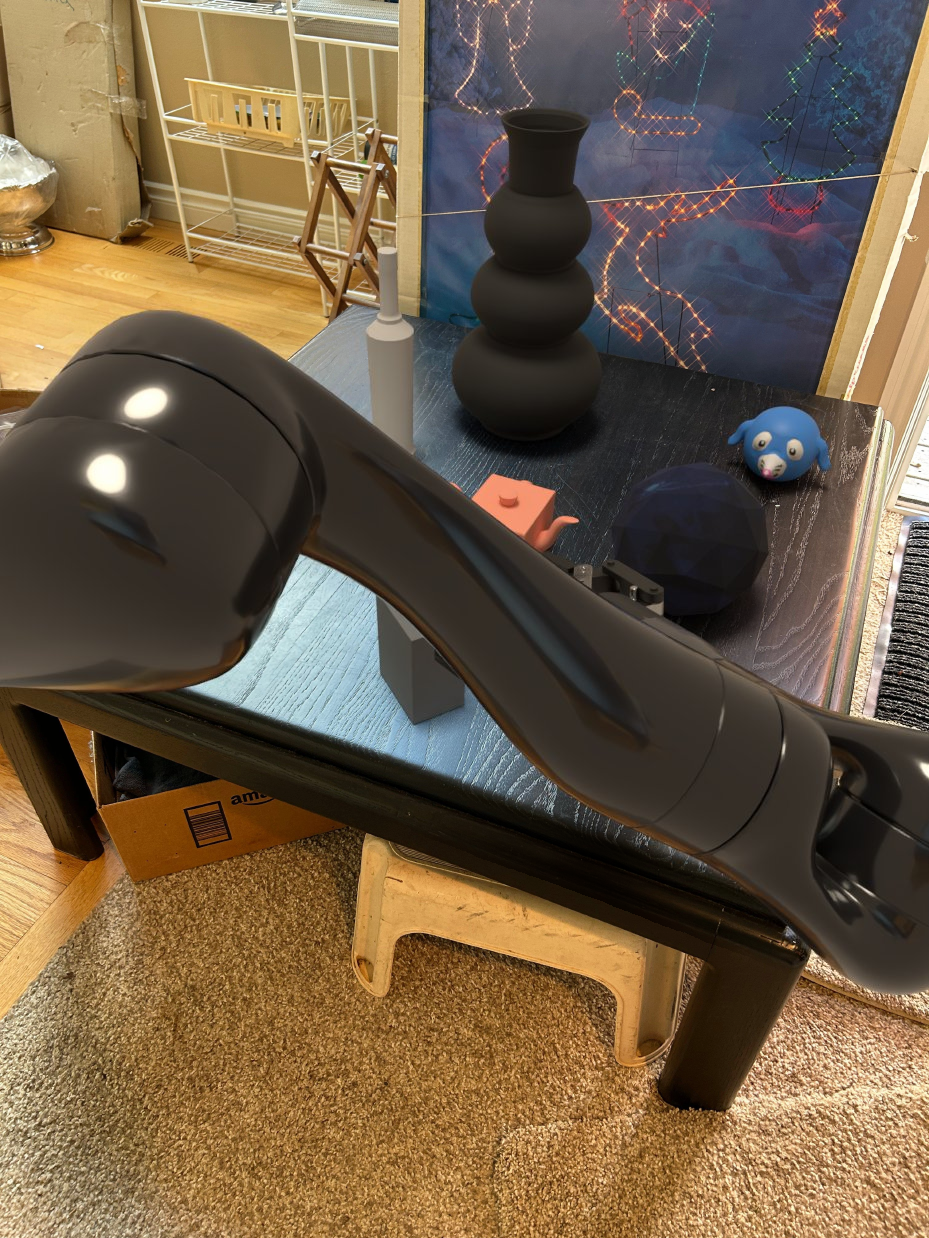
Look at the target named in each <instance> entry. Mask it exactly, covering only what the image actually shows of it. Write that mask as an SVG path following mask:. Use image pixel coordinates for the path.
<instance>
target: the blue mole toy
mask: <svg viewBox="0 0 929 1238" xmlns="http://www.w3.org/2000/svg"><path fill="white" fill-rule="evenodd" d="M742 441H744V442H743V447H742V449H743V457H744V460H745V462H746V464H747V466H748V468H749V469H750V470H751V471H752V472H753V473H755V474H756V475H757V476H758V477H761V478H763V479H764V480H768V481H770V482H771V481H772V482H789V481H792V480H795V479H798V478H800V477H801V476H803V475H804V474H806V472H808V471H809V470H810V469H811V468H812V467H813V465H814V464H815V462H817V466H818V468H819V469H820V470H821V471H822V472H828V471H829V470H830V469H831V466H832V464H831V461H830V458H829V447H828V444H827V442H826V440H824V439H823V438H822V437H821V432H820V429H819V427H818V424H817V422H816V421H815V419H814V418H813V417H812V416H811V415H810V414H808V413H807V412H806V411H804V410H802V409H799V408H798V407H797V408H796V407H792V406H775V407H771V408H768V409H766V410H764V411H762V412H761V413H760V414H758V415H757V416H756V417H755V418H753V419H750V420H749V419H748V420H745V421H744V422H742V423H741V424H740V425H738V428H737V429H736V431H735V432H734V433H733V434H732V435H730V436H729V437H728V441H727V445H729V446H730V447H735V446H737V445H739V444H740V443H741V442H742Z"/></svg>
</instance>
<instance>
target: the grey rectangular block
mask: <svg viewBox="0 0 929 1238" xmlns="http://www.w3.org/2000/svg"><path fill="white" fill-rule="evenodd" d="M375 604H376V607H375V608H376V621H377V622H376V623H377V625H376V626H377V641H378V643H377V645H378V660H379V661H378V662H379V673H380V675H381V677H382V678H383V680H384V681H385V683H386V685H387V686H388V688H389V689H390V690H391V693H392V694H393V696H394V697H395V698H396V700H397V701H398V703H399V705H400V706H401V708H402V709H403V711H404V712H405V714H406V716H407V717H408V719H409V720H410V722H411V723H412V725H416V724H419V723H421V722H424V721H427V720H430V719H432V718H434V717H437V716H439V715H442V714H445V713H447V712H450V711H453V710H456V709H458V708H460V707H463V706H465V690H466V685H465V684H464V683H463V681H462V680H460V679H459V678H458V677H456V676H455V675H454V674H452V673H451V672H450V671H448V670H447V669H446V668H444V667H443V666H442V665H440V664H439V663H438V662H436V661H435V660H434V654H433V651H434V648H433V647H432V645H431V644H430V643H429V642H428V641H427V640H426V639H425V638H424V637H423V636H422V635H421V634H419V633H418V632H417V631H416V630H415V629H414V628H413V627H412V626H411V625H410V624H409V623H408V622H407V621H406V620H405V619H404V618H403V617H402V616H401V615H400V614H399V613H398V612H397V611H395V610H394V609H393V608H392V607H390V606H389V605H388V604H387V603H386V602H384V601H383V600H381V599H380V598H379V597H377V596H376V595H375Z"/></svg>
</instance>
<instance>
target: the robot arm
mask: <svg viewBox="0 0 929 1238" xmlns="http://www.w3.org/2000/svg"><path fill="white" fill-rule="evenodd" d="M450 482H451V481H448V480H447V479H446V478H444V477H443V476H442V475H441V474H439V473H438V472H437V471H435V470H434V469H432V468H431V467H429V466H428V465H427V464H426V463H424V462H423V461H422V460H420V459H418V458H417V457H416V456H415V457H414V456H413V455H412V454H410V453H409V452H408V451H406V450H405V449H404V448H402V447H401V446H400V445H399V444H397V443H396V442H395V441H393V440H392V439H391V438H390V437H388V436H387V435H386V434H384V433H383V432H382V431H381V430H379V429H378V428H377V427H376V426H374V425H373V422H371V421H369V420H368V419H366V417H364V416H363V415H361V414H360V413H359V412H357V410H355V409H354V408H353V407H352V406H350V405H349V404H347V403H346V402H345V401H344V400H342V399H341V398H340V397H338V396H337V395H336V394H334V393H333V392H332V391H330V390H329V389H328V388H326V387H325V386H324V385H322V384H321V383H320V382H318V381H317V380H316V379H315V378H313V377H312V376H310V375H309V374H307V373H305V372H304V371H303V370H302V369H301V368H298V367H297V366H296V365H295V364H293V363H291V362H290V361H289V360H287V359H285V358H284V357H282V356H280V355H279V354H278V353H276V352H274V351H273V350H271V349H270V348H269V347H267V346H265V345H264V344H262V343H261V342H258V341H257V340H255V339H253V338H252V337H250V336H248V335H246V334H244V333H243V332H241V331H239V330H236V329H234V328H232V327H229V326H227V325H226V324H223V323H221V322H219V321H216V320H215V319H211V318H209V317H204V316H200V315H197V314H193V313H188V312H184V311H180V310H172V309H171V310H170V309H169V310H167V309H166V310H165V309H164V310H163V309H158V310H157V309H147V310H143V311H139V312H135V313H131V314H128V315H127V314H126V315H123V316H120V317H119V318H116V319H115V320H113V321H112V322H111V323H108V324H107V325H106V326H104V327H103V328H101V329H99V330H98V331H97V332H95V333H94V334H93V336H91V337H90V338H89V339H88V340H86V342H85V343H84V344H83V345H82V346H81V347H80V348H79V349H78V350H77V351H76V352H75V353H74V354H73V356H72V357H71V359H69V361H67V363H66V364H65V365H64V367H63V368H62V369H61V371H60V372H58V374H57V375H55V377H53V379H52V380H51V381H50V382H49V383H48V384H47V386H46V387H45V388H44V389H43V391H41V393H40V394H39V395H38V396H37V398H36V399H35V400H34V402H33V403H32V404H30V406H29V407H28V409H27V410H26V411H25V412H24V413H23V414H22V415H21V417H20V418H19V419H18V420H17V421H16V422H15V423H14V425H12V427H10V429H9V431H8V432H7V433H6V434H5V436H4V437H3V439H2V440H1V441H0V687H1V688H15V689H29V690H30V689H33V690H49V691H63V692H79V693H81V692H83V693H105V694H106V693H107V694H108V693H109V694H142V693H143V694H144V693H161V692H168V691H177V690H182V689H185V688H191V687H196V686H198V685H202V684H204V683H206V682H210V681H212V680H215V679H218V678H220V677H221V676H224V675H225V674H227V673H228V672H230V671H231V670H233V669H234V668H235V667H236V666H237V665H239V664H240V663H241V662H242V661H243V659H244V658H245V657H246V656H247V655H248V654H249V652H250V651H251V650H252V649H253V647H254V646H255V644H256V643H257V642H258V641H259V638H260V637H261V636H262V634H263V633H264V631H265V629H266V628H267V626H268V625H269V623H270V620H271V618H272V616H273V614H274V612H275V610H276V608H277V605H278V602H279V599H280V598H281V597H282V595H283V593H284V590H285V588H286V586H287V583H288V581H289V579H290V577H291V575H292V572H293V570H294V568H295V567H296V564H297V562H298V559H299V558H300V556H302V557H305V558H307V559H309V560H311V561H314V562H316V563H318V564H320V565H322V566H325V567H327V568H328V569H331V570H333V571H334V572H337V573H339V574H341V575H343V576H345V577H347V578H348V579H350V580H351V581H353V582H354V583H356V584H358V585H360V586H361V587H363V588H365V589H366V590H367V591H369V592H370V593H372V594H373V595H374V596H375V597H376V596H377V597H379V598H380V599H381V600H383V601H384V602H386V603H387V604H388V605H389V606H390V607H392V608H393V609H394V610H395V611H397V612H398V613H399V614H400V615H401V616H402V617H403V618H404V619H405V620H406V621H407V622H408V623H409V624H410V625H411V626H412V627H413V628H414V629H415V630H416V631H417V632H418V633H419V634H421V635H422V636H423V637H424V638H425V639H426V640H427V641H428V642H429V643H430V644H431V645H432V647H433V648H434V651H433V654H434V660H435V661H436V662H438V663H439V664H440V665H442V666H443V667H444V668H446V669H447V670H448V671H450V672H451V673H452V674H454V675H455V676H456V677H458V678H459V679H460V680H462V681H463V683H464V684H465V687H466V688H467V689H468V690H469V692H470V693H471V694H472V695H473V697H474V698H475V699H476V700H477V702H478V704H480V706H481V708H482V709H483V710H484V711H485V712H486V714H487V715H488V716H489V717H490V718H491V720H492V721H493V722H494V724H495V725H496V726H497V727H498V728H499V729H500V731H501V732H502V733H503V735H504V736H505V737H506V738H507V739H508V740H509V741H510V743H511V744H512V745H513V746H514V747H515V748H516V750H517V751H519V753H520V754H521V755H522V756H523V757H524V758H525V759H526V760H527V761H528V762H529V763H530V764H531V765H532V766H533V767H534V768H535V769H536V770H538V771H539V772H540V773H541V774H542V775H544V777H546V778H547V779H548V780H549V781H551V782H552V783H553V784H554V785H555V786H557V788H559V789H560V790H561V791H562V792H564V793H566V794H567V795H568V796H570V797H571V798H573V799H575V801H577V802H578V803H580V804H581V805H583V806H585V807H587V808H589V809H591V810H593V811H594V812H596V813H597V814H599V815H601V816H603V817H605V818H608V819H610V820H612V821H614V822H617V823H619V824H621V825H623V826H624V827H627V828H629V829H632V830H633V831H636V832H638V833H639V834H641V835H644V836H646V837H648V838H650V839H653V840H655V841H656V842H658V843H660V844H663V845H666V846H667V847H670V848H672V849H673V850H676V851H679V852H681V853H683V854H686V855H687V856H689V857H692V858H694V859H696V860H698V861H700V862H702V863H703V864H705V865H707V866H709V867H710V868H712V869H714V870H715V871H717V872H719V873H720V874H722V875H723V876H725V877H726V878H728V880H731V881H733V882H734V883H735V884H737V885H738V886H740V887H741V889H742V888H743V890H745V891H746V892H747V893H749V894H750V895H752V896H753V897H754V898H755V899H756V900H758V901H759V902H760V903H761V904H763V905H764V906H765V907H767V908H768V909H769V910H770V911H771V912H772V913H773V914H774V915H775V916H776V917H777V918H779V920H780V921H782V922H783V924H785V925H786V927H788V928H789V929H790V930H791V931H792V932H793V933H794V934H795V935H796V936H797V937H798V938H799V939H800V940H801V941H802V942H803V943H804V944H805V945H806V946H807V947H808V948H809V949H810V950H811V951H813V952H814V954H816V956H817V957H819V958H820V959H821V960H822V961H823V962H825V963H826V964H827V965H828V966H830V967H831V968H832V969H833V970H834V971H836V972H837V973H838V974H839V975H840V976H842V977H844V978H845V979H846V980H848V981H850V982H851V983H854V984H855V985H857V986H859V987H860V988H863V989H866V990H868V991H871V992H873V993H877V994H881V995H882V994H883V995H891V996H906V995H914V994H919V993H924V992H926V991H928V990H929V731H927V730H921V729H918V728H917V729H916V728H913V727H907V726H902V725H896V724H891V723H887V722H882V721H877V720H872V719H866V718H862V717H857V716H854V715H849V714H846V713H842V712H839V711H835V710H832V709H829V708H826V707H822V706H821V705H817V704H815V703H813V702H810V701H807V700H805V699H803V698H800V697H798V696H795V694H792V693H790V692H788V691H786V690H784V689H782V688H780V687H778V686H777V685H775V684H773V683H772V682H769V681H768V680H766V679H764V678H763V677H761V676H760V675H758V674H756V673H754V672H752V671H750V670H749V669H747V668H746V667H743V666H741V665H740V664H738V663H737V662H734V661H733V660H731V659H730V658H728V657H727V656H726V655H725V654H723V652H721V651H720V650H718V649H717V648H716V647H715V646H713V645H712V644H711V643H709V642H708V641H707V640H705V639H703V638H702V637H700V636H699V635H697V634H695V633H693V632H691V630H690V631H689V630H687V629H686V628H684V627H683V626H680V625H679V624H677V623H675V622H673V621H672V620H670V619H668V618H666V617H665V616H664V615H665V614H664V613H665V612H664V588H663V587H661V586H660V585H658V584H656V583H655V582H653V581H651V580H650V579H648V578H646V577H645V576H643V575H641V574H639V573H638V572H636V571H634V570H633V569H631V568H629V567H628V566H626V565H624V564H623V563H621V562H619V561H617V560H615V559H605V560H603V561H602V562H601V567H597V568H593V566H592V565H591V564H589V563H579V564H578V563H576V562H573V561H572V560H570V559H568V558H567V557H565V556H563V555H560V554H559V555H558V554H555V553H554V552H552V551H550V550H546V551H544V552H543V553H540V552H539V551H537V550H536V549H535V548H534V547H532V546H531V545H530V544H529V543H527V542H526V541H525V540H523V539H522V538H521V537H520V536H518V535H517V534H516V533H514V532H513V531H512V530H511V529H509V528H508V527H507V526H505V525H504V524H503V523H501V522H500V521H499V520H497V519H496V518H495V517H494V516H492V515H491V514H490V513H488V512H487V511H486V510H484V509H483V508H482V507H481V506H479V505H478V504H477V503H476V502H474V501H473V500H472V498H470V496H468V495H467V494H465V493H464V492H463V491H462V492H461V491H460V490H459V489H457V488H456V487H455V486H453V485H452V484H451V483H452V482H451V483H450ZM834 779H838V784H835V785H834V787H833V782H834Z"/></svg>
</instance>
